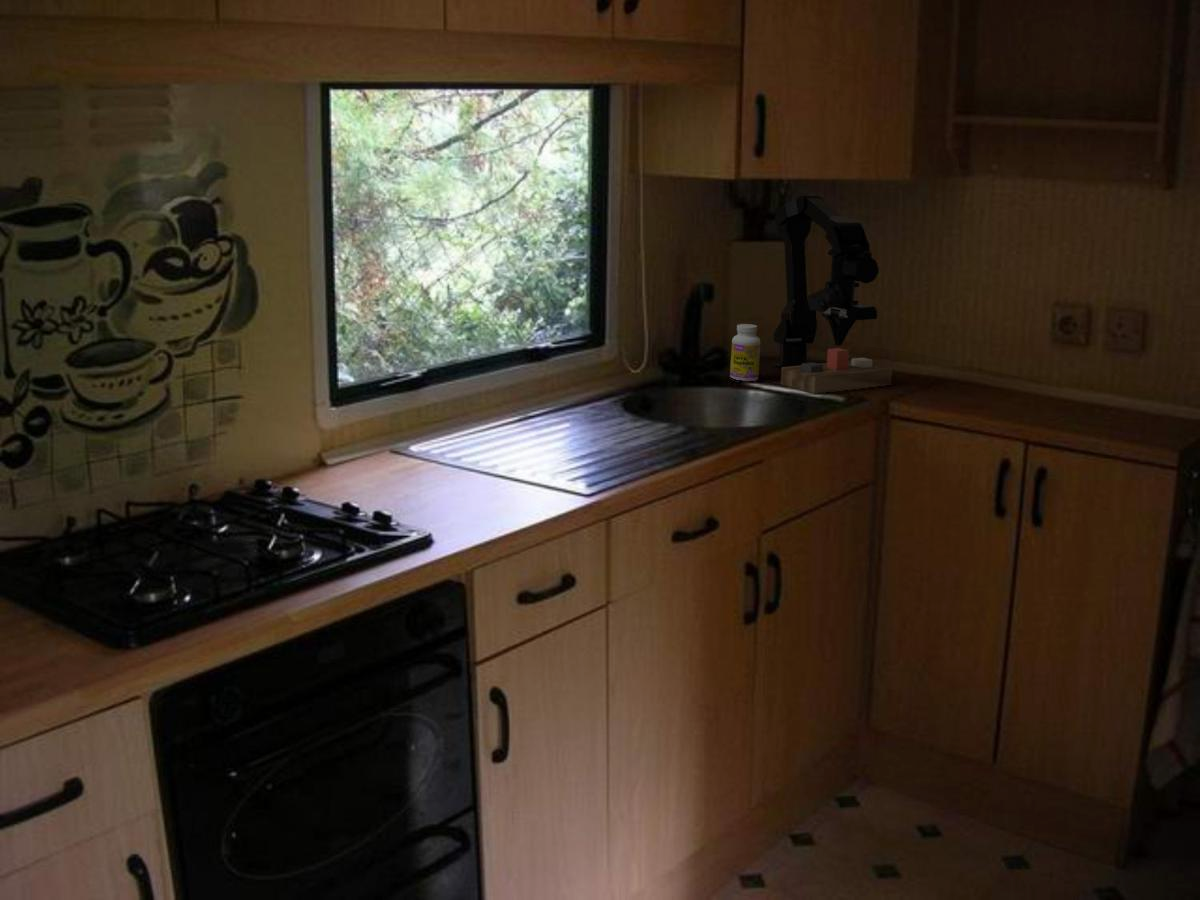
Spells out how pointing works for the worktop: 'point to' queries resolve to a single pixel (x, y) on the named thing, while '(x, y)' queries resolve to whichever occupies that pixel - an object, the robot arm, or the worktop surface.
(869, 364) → the plug white
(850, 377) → the block
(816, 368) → the gray rectangular block
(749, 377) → the supplement bottle
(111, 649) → the worktop surface
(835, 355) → the plug red
